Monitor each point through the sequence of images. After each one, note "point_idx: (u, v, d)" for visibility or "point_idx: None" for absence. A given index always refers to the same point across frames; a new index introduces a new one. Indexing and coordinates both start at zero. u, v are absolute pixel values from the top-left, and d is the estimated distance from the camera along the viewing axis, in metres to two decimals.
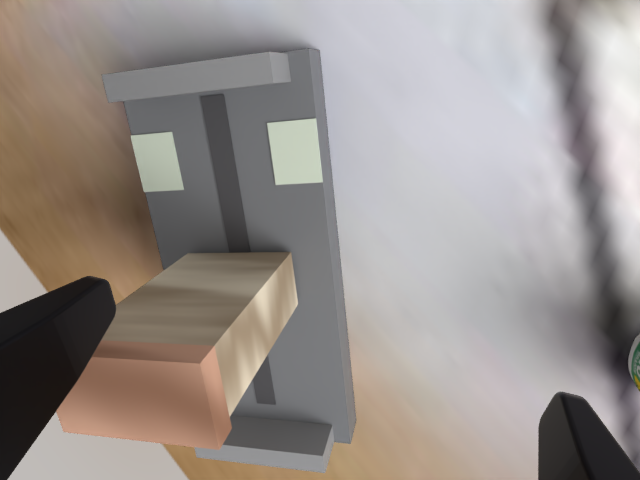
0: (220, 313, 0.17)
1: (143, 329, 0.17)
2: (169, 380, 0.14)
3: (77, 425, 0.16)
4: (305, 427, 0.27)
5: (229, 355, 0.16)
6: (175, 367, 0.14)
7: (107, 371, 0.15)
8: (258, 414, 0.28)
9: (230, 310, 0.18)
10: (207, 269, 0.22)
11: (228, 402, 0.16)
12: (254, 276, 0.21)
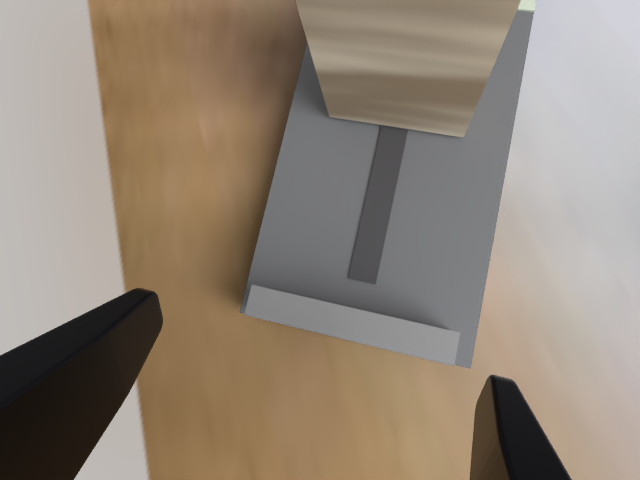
0: None
1: None
2: None
3: None
4: None
5: None
6: None
7: None
8: (342, 298, 0.19)
9: None
10: None
11: None
12: None
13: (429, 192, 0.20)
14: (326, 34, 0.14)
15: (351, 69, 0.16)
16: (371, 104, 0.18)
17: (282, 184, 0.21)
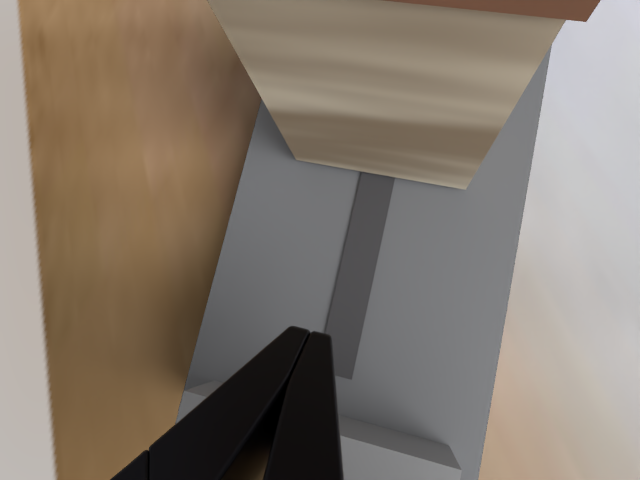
0: None
1: None
2: None
3: None
4: (400, 435, 0.14)
5: None
6: None
7: None
8: None
9: None
10: None
11: None
12: None
13: (421, 259, 0.15)
14: (271, 66, 0.10)
15: (313, 110, 0.12)
16: (345, 149, 0.14)
17: (236, 244, 0.16)
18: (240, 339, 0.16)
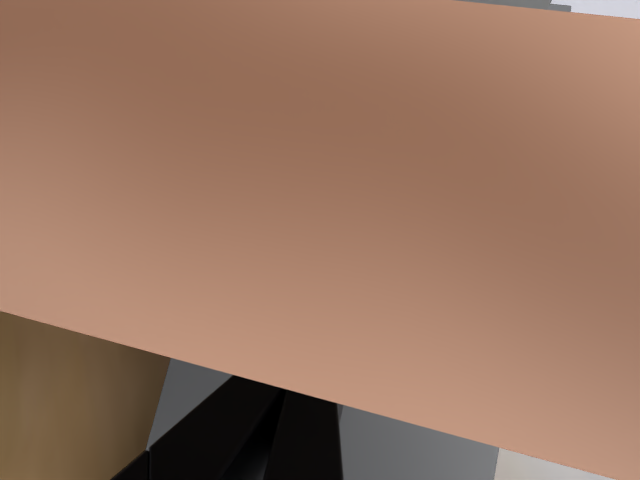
0: None
1: None
2: (515, 88, 0.04)
3: None
4: None
5: None
6: (569, 35, 0.04)
7: (249, 31, 0.04)
8: None
9: None
10: None
11: None
12: None
13: (383, 468, 0.13)
14: None
15: None
16: None
17: None
18: None
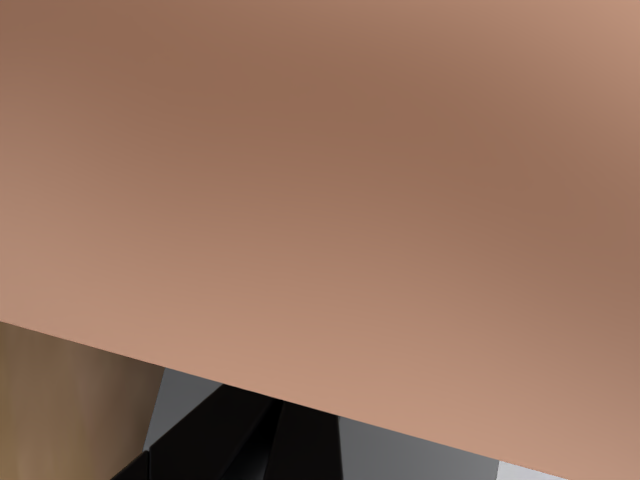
0: None
1: None
2: (524, 73, 0.03)
3: None
4: None
5: None
6: (582, 16, 0.03)
7: (239, 14, 0.04)
8: None
9: None
10: None
11: None
12: None
13: None
14: None
15: None
16: None
17: None
18: None
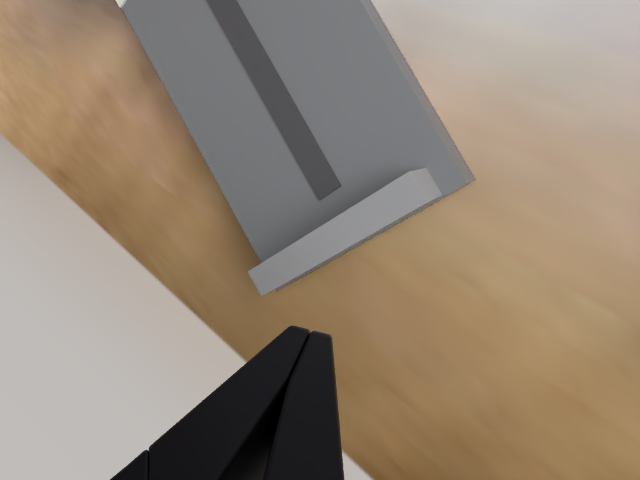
0: None
1: None
2: None
3: None
4: None
5: None
6: None
7: None
8: (329, 219, 0.19)
9: None
10: None
11: None
12: None
13: (316, 74, 0.18)
14: None
15: None
16: None
17: (222, 175, 0.21)
18: (270, 224, 0.21)
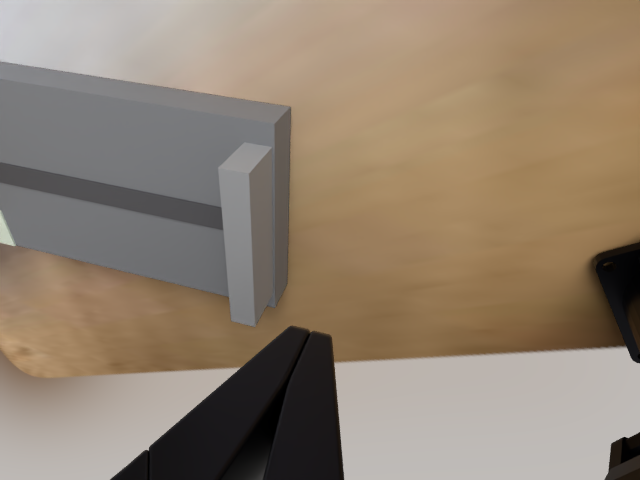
0: None
1: None
2: None
3: None
4: None
5: None
6: None
7: None
8: None
9: None
10: None
11: None
12: None
13: (131, 162, 0.20)
14: None
15: None
16: None
17: (168, 275, 0.24)
18: (222, 273, 0.23)
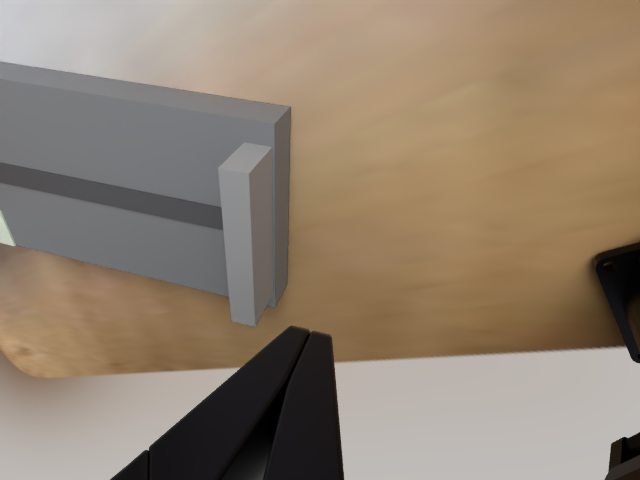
0: None
1: None
2: None
3: None
4: None
5: None
6: None
7: None
8: None
9: None
10: None
11: None
12: None
13: (131, 162, 0.20)
14: None
15: None
16: None
17: (168, 275, 0.24)
18: (222, 273, 0.23)
